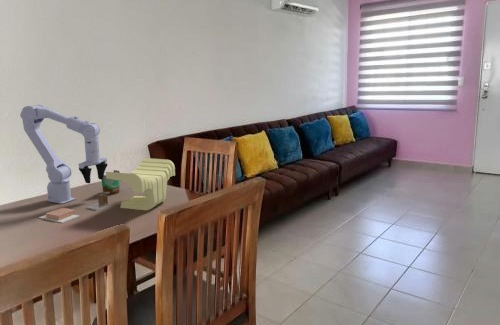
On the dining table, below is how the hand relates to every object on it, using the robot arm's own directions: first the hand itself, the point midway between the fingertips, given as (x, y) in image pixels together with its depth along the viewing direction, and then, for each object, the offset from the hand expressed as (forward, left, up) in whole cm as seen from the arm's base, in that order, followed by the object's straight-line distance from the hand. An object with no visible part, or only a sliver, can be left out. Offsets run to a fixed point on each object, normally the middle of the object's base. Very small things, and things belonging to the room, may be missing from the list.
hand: (94, 181), depth 176 cm
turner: (+7, -6, -10) cm, 13 cm away
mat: (+3, -22, -9) cm, 24 cm away
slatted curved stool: (+23, +5, -10) cm, 25 cm away
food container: (-2, +14, -10) cm, 17 cm away
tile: (+3, -18, -8) cm, 20 cm away
